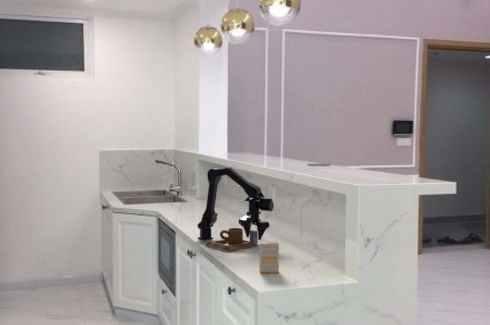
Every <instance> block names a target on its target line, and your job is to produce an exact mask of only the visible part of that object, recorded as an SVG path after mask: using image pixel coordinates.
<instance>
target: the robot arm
mask: <svg viewBox="0 0 490 325" xmlns="http://www.w3.org/2000/svg"><path fill="white" fill-rule="evenodd" d="M206 174H207V182H208V190H207V198H206V199H207V200H206V206H205V210H204V211H203V214H202V217H201V220H200V222H198V224H197V225H196V226H197V229H199V236H198V237H197V239H199V240H202V241H206V240H208V241H209V240H211V239H212V240H213V239H214V237H212V228H213V227H214V224H215V223H216V222H217V221H218V212H217V213H216V211H215V210H216V209H215V208H216V200H217V193H218V186H219V184H220V181H221V179H222V177H223V176H227V177H228V178H229V179H231V180H232V181H234V183H236V184H237V185H238V186H240V187H241V188H242V189H243V191H244V193H245V194H246V195H247V197H246V198H245V199H244V202H248V211H246V213H245V215H244V216H241V217H240V218H239V219H238V224H239V225H240V226H241V227H242V229H243V230H244V233H245V237H246V238H250V230H252V229H251V228H252V225H254V226H256V228H255V229H256V231H258V241H261V240H262V238H263V236H264V234H265V232H266V230H268V229H269V228H270V223H269V221H264V220H263V221H262V219H260V215H261V214H262V212H263V211H264V212H273V210H274V207H275V206H274V205H275V204H274V201H273V198H271V197H267V198H266V197H265V196H264V194H263V193H262V189H261V188H260V186H258V185H257V184H255V183H253V182H250V181H248V180H247V179H246V178H245V177H243V176H242V175H241V174H239V173H238V172H236V171H235V170H234V169H233V168H232V167H225V168H219V167H214V168H210V169H208V170H207V173H206Z"/></svg>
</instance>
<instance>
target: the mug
mask: <svg viewBox="0 0 490 325" xmlns="http://www.w3.org/2000/svg"><path fill="white" fill-rule="evenodd" d="M243 230H244V229H243V228H240V227H233V228H231V227H230V228H228V230H227V229H223V230H221V231H220V232H219V236H220V238H221V240H223V239H224V240H227V241H228V242H227V246H228V245H233V244H239V243H243V240H244V237H243V236H244V234H243V233H244V232H243ZM224 234H227V236H224Z"/></svg>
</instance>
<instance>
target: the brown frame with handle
mask: <svg viewBox="0 0 490 325" xmlns="http://www.w3.org/2000/svg"><path fill="white" fill-rule="evenodd" d="M258 241H259V240H258V230H257V229H256V230H255V229H250V234H249V240H244V239H243V243H239V244H233V245H228V244H227V245H226V244H225V243H228V241H227V240H224V239H218V240H217V239H216V240H209V239H208V240H205V246H208V247H211V248H216V249H220V250H222V251H226V252H231V251H235V250H236V251H237V250H242V249H247V248H252V246H254V245H258Z"/></svg>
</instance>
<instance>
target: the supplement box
mask: <svg viewBox="0 0 490 325" xmlns="http://www.w3.org/2000/svg"><path fill="white" fill-rule="evenodd" d="M279 248H280V244H279V242H278V240H277V241H259V250H258V251H259V264H258V265H259V267H258V268H259V273H260V274H279V273H280V272H279V270H280V268H279V267H280V264H279V263H280V260H279V259H280V257H279V256H280V253H279V252H280V249H279Z"/></svg>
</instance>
